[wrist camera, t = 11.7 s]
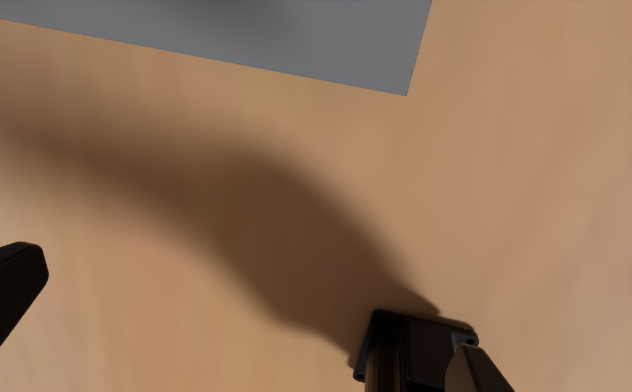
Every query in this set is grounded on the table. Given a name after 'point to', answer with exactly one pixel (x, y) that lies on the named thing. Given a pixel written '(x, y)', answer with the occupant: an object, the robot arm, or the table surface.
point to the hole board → (257, 33)
